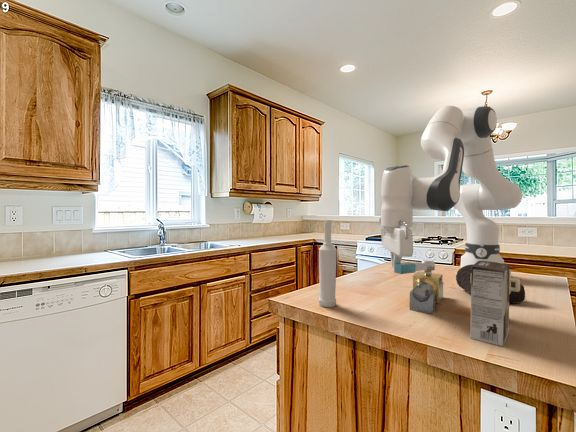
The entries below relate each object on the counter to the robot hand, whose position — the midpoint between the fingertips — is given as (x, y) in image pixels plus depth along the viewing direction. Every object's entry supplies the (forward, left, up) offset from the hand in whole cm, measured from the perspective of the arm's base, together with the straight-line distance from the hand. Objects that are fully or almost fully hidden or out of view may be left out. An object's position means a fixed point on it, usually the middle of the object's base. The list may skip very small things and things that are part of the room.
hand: (395, 267), depth 90 cm
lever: (-3, +5, -1) cm, 6 cm away
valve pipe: (-7, +7, -11) cm, 15 cm away
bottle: (+12, -17, -11) cm, 23 cm away
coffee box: (+11, +23, -11) cm, 28 cm away
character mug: (-3, +24, -11) cm, 27 cm away
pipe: (-26, +22, -12) cm, 36 cm away
